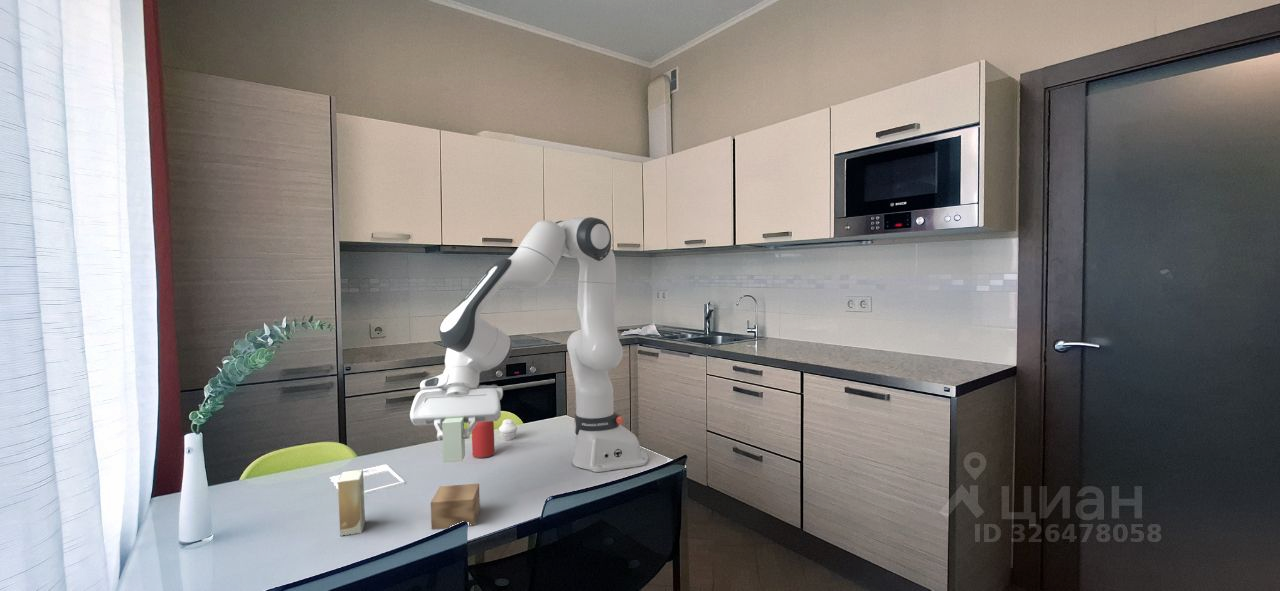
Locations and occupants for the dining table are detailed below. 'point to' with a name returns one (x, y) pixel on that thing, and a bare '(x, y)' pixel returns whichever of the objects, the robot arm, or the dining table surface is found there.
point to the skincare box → (351, 502)
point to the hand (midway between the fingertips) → (453, 438)
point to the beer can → (483, 439)
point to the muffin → (508, 429)
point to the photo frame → (371, 472)
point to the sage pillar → (453, 439)
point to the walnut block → (455, 505)
